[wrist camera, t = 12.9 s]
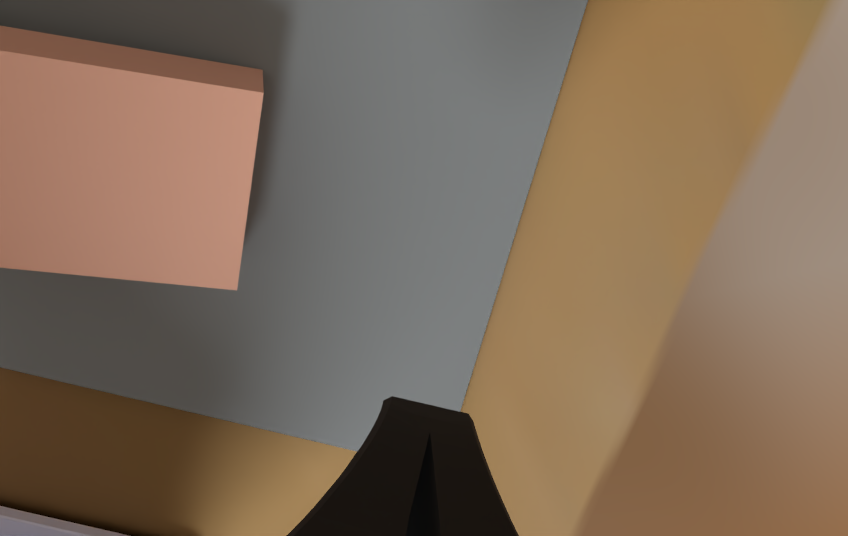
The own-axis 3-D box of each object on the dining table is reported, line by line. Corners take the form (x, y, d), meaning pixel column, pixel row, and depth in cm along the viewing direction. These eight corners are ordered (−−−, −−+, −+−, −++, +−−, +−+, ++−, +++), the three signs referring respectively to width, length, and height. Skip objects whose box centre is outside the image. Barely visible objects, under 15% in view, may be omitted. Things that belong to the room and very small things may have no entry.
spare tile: (236, 290, 17) (-220, 246, 15) (238, 255, 19) (-182, 209, 17) (263, 92, 15) (-258, 8, 13) (262, 69, 17) (-210, -10, 15)
